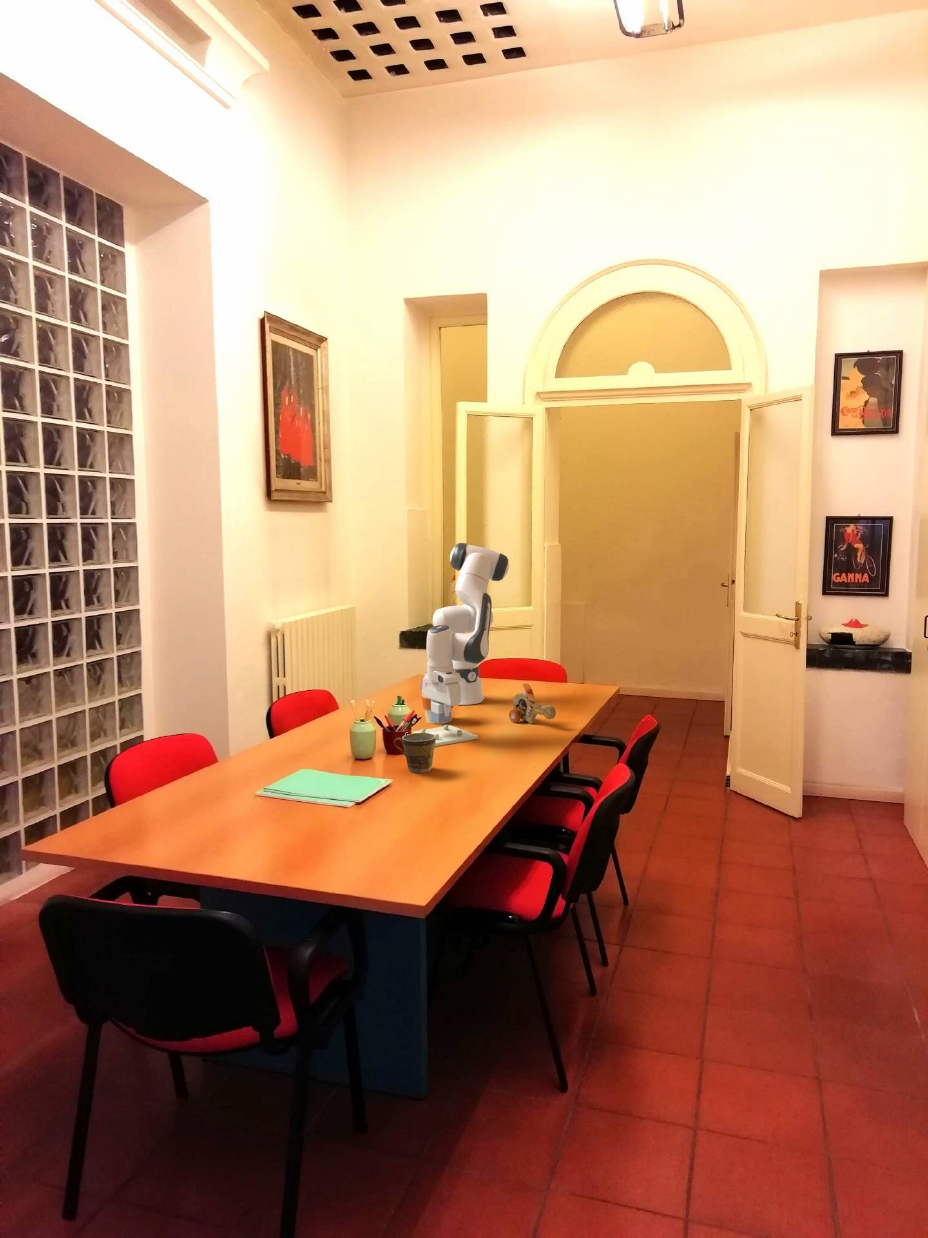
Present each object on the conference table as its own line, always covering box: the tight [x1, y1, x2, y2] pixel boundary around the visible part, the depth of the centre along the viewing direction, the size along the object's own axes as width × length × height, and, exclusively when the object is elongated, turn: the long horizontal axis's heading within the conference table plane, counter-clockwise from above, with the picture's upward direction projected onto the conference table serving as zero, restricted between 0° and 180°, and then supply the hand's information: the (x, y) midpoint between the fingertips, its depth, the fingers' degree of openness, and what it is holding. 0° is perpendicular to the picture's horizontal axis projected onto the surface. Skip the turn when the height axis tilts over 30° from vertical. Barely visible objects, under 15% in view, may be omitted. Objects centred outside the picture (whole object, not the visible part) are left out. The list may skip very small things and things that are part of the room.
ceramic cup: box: [393, 733, 436, 774], centre depth 260 cm, size 13×10×10 cm
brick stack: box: [431, 702, 452, 723], centre depth 296 cm, size 5×5×6 cm
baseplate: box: [412, 724, 479, 747], centre depth 297 cm, size 18×18×2 cm
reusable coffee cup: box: [420, 679, 454, 725], centre depth 320 cm, size 12×13×15 cm
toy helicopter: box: [508, 683, 557, 725], centre depth 312 cm, size 8×21×14 cm, turn 38°
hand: (441, 714), depth 296 cm, fingers closed on brick stack, 5 cm apart
